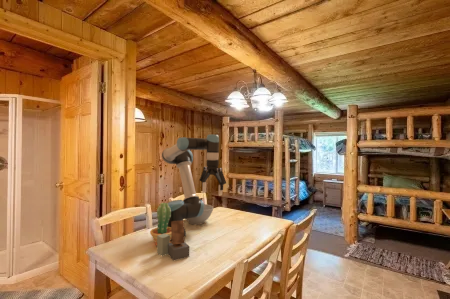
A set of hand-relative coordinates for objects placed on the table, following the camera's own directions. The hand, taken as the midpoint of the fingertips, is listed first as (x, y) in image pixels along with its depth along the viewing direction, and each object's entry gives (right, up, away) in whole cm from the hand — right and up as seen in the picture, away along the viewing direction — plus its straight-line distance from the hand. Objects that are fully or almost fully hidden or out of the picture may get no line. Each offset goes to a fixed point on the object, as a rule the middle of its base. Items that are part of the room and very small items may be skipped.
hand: (212, 194), depth 144 cm
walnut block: (-18, -25, -14) cm, 34 cm away
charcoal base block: (-18, -32, -14) cm, 39 cm away
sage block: (-27, -31, -12) cm, 43 cm away
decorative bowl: (-15, -32, +45) cm, 57 cm away
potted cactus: (-31, -32, +2) cm, 44 cm away
